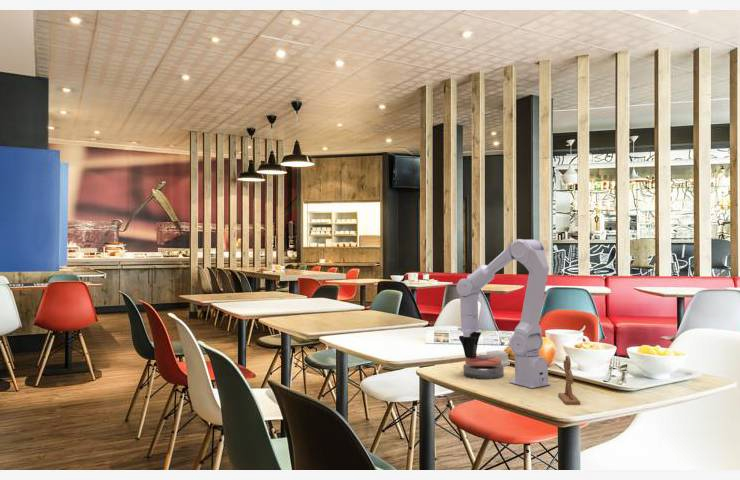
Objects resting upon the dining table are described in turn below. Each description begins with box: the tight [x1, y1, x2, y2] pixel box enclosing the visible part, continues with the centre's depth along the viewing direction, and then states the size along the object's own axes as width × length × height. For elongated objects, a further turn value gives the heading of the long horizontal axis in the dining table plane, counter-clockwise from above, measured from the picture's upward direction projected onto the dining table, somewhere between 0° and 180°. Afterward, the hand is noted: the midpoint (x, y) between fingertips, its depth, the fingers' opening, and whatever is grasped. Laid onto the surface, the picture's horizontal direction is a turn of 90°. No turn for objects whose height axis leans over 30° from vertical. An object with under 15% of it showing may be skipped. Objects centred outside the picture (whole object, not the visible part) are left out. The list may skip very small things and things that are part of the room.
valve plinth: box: [462, 363, 505, 380], centre depth 184 cm, size 13×13×3 cm
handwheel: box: [464, 344, 501, 366], centre depth 184 cm, size 12×12×6 cm
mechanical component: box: [486, 350, 510, 367], centre depth 203 cm, size 10×4×10 cm
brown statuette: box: [557, 355, 581, 406], centre depth 150 cm, size 9×4×12 cm, turn 173°
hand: (470, 355), depth 185 cm, fingers open, 7 cm apart
